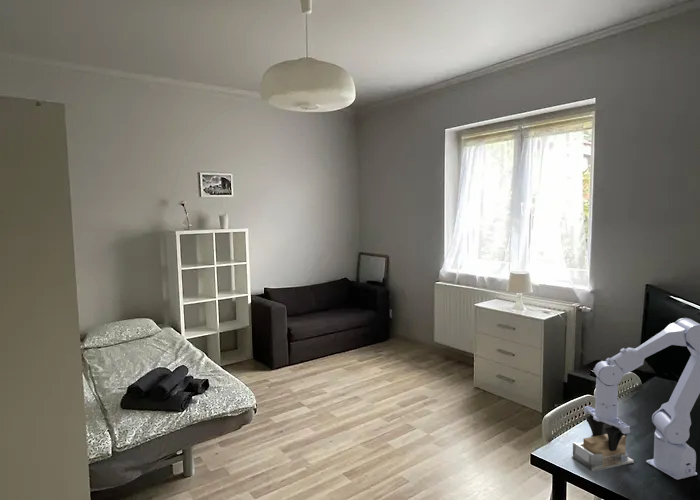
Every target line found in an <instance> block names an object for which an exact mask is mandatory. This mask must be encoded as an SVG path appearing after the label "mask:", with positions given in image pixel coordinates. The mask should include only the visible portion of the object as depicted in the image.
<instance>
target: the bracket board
mask: <svg viewBox="0 0 700 500" xmlns="http://www.w3.org/2000/svg"><path fill="white" fill-rule="evenodd" d="M571 458H572V459H573V460H574V461H576V462H577V463H579V464H581V465H582V467H585V468H586V469H588V470H589V471H591V472H592V473H594V472H599V471H603V470H606V469H607V470H608V469H611V468H616V467H621V466H624V465H629V464H633V463H634V459H632V458H631V457H629V454H628V453H627V452H626V451H625V452H624V453H620V454H615V455H610V456H606V457H603V454H602V453H601V452H598V453H592V452H590V451H589V450H587V449H585V448H584V447H583V442H576V441H573V442H572V454H571Z"/></svg>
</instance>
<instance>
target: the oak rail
mask: <svg viewBox="0 0 700 500" xmlns="http://www.w3.org/2000/svg"><path fill="white" fill-rule="evenodd" d="M582 441H583V447H584V448H585V449H587V450H589V451H590V452H592V453H598V452H601V453H602V454H603V457H606V456H610V455H615V454H620V453H624V452H625V453H626V447H627V446H626V442H627V437H626V435H625V436H624V435H623V436H622V438H621V439H620V441H619V444H618V446H617V449H616V450H615V451H610V450H609V441H608V435H607V434H604V435H599V436H594V437H590V436H589V437H585V438H583V440H582Z"/></svg>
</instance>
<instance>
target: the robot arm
mask: <svg viewBox="0 0 700 500" xmlns="http://www.w3.org/2000/svg"><path fill="white" fill-rule="evenodd" d="M670 346H680V347H687V349H688V351H689V352H690V356H689V359H688V361H687V363H686V365H685V367H684V369H683V371H682V372H681V375H680V377H679V379H678V380H677V381H678V382H677V383H676V384H675V387H674V389H673V391H672V393H671V395H670V398H669V400H668V401H667V402H665V403H662V404H661V406H660V408H659V409H657V410H656V411H655V412H653V414H652V415H651V422H652V424H653V425H654V426H655V431H654V436H653V437H654V440H653V441H654V442H653V458H651V459H647V460H646V461H645V462H646V463H647V464H648V465H651V466H652V467H653V468H655V469H657V470H659V471H660V472H663V473H664V474H666V475H668V476H670V477H671V478H673V479H675V480H681V479H686V478H689V477H693V476H697V475H698V472H696V471H697V470H696V467H697V465H696V464H697V453H696V450H695V449H694V448H693V447H691V446H690V445H689V444H688V443H687V441H688V440H689V438H690V435H691V434H690V427H691V425H692V419H691V414H690V413H691V411H692V410H693V407H694V405H695V403H696V401H697V399H698V398H699V395H700V323H699V322H697V321H695V320H693V319H692V318H688V317H682V318H678V319H677V320H676V321H675V322H672V323H671V322H670V323H669V324H668V325H666V327H665V328H664V329H662V330H661V331H660V332H658V333H656V334H655V335H654V336H651V337H650V338H649V339H648V340H646V341H645V342H643V343H642V344H640V345H639V346H637V347H635V348H634V347H627V348H624V347H623V348H621V349H620V350H619V352H618V353H617V354H615V355H613V356H611V357H607V358H605V360H601V361H599V362H597V363H596V364H595V366H594V367H593V369H592V370H593V373H594V375H595V376H596V378H595V380H596V381H595V397H594V398H595V399H594V400H595V401H594V403H595V405H594V407H595V408H594V407H592V406H590V405H587V406H583V413H584V414H586V415H589V416H587V417H586V422H587V424H588V426H589V428H590V430H591V434H593V437H594V436H599V435H602V430H603V425H604V423H607V424H609V425H611V427H609V428H606V432H607V435H608V441H609V450H610V451H615V450H616V449H617V446H618V444H619V441H620V439H621V438H622V436H623V435H624V434H626V435H627V434H630V433H631V429H630V428H631V426H629V425H628V424H626V423H625V422H624V421H623V420H621V419H620V418H619V417H618V395H619V393H618V391H619V390H618V389H619V388H618V384H620V382H621V381H622V377H624V376H626V375H627V374H629V373H631V372H633V371H635V370H636V369H638V368H640V367H641V366H643V365H644V362H645V359H646V358H648V357H650V356H652V355H654V354H656V353H658V352H660V351H662V350H664V349H666V348H668V347H670Z"/></svg>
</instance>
